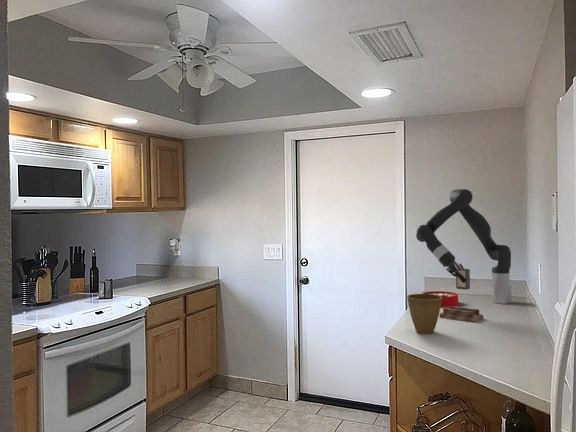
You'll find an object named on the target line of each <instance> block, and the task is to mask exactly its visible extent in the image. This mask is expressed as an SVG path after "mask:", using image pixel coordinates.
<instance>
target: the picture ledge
mask: <svg viewBox="0 0 576 432" xmlns="http://www.w3.org/2000/svg"><path fill="white" fill-rule="evenodd" d="M442 309H443V310H442V312H439V318H443V319H447V320H448V319H449V320H456V321H463V322H468V323H469V322H470V323H476V322H479V321H481V320H483V319H484V314H481V313H480V309H476V308H470V307H469V308H468V307H464V306H463V307H460V306H449V307H442Z"/></svg>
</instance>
